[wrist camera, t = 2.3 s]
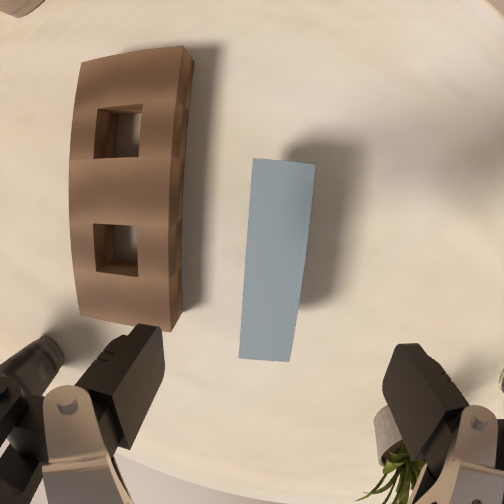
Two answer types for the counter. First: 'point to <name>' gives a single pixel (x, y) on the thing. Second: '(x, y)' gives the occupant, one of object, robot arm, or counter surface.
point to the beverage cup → (34, 366)
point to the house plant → (394, 458)
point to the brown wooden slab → (130, 185)
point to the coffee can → (502, 381)
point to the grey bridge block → (275, 257)
